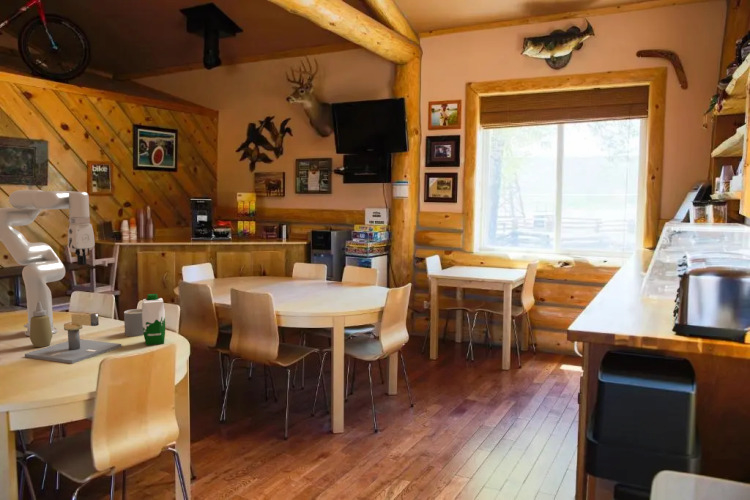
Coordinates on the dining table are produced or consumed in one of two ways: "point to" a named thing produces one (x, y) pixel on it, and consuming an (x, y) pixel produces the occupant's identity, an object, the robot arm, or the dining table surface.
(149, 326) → the milk carton
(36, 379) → the dining table surface
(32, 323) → the squeeze bottle
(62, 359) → the post base
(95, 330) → the dining table surface
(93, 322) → the tan piece
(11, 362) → the dining table surface
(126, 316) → the coffee mug
